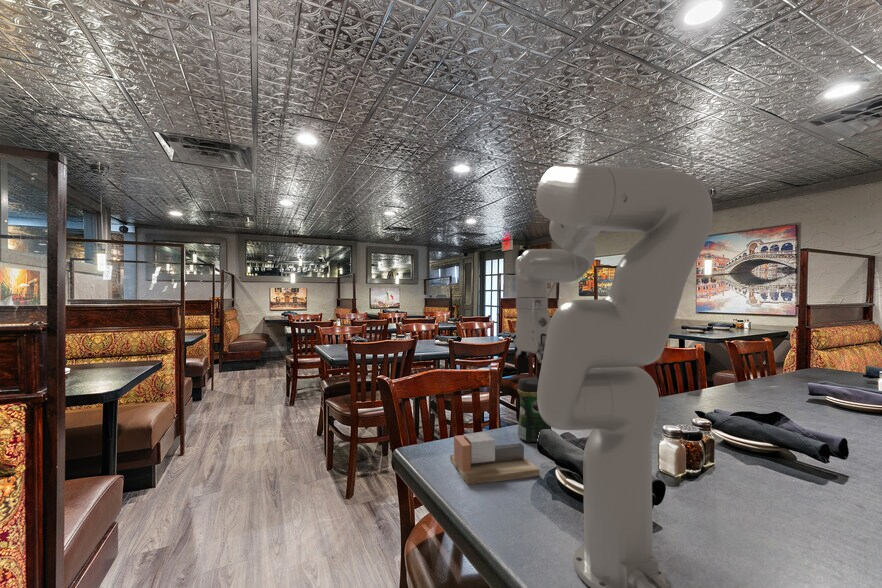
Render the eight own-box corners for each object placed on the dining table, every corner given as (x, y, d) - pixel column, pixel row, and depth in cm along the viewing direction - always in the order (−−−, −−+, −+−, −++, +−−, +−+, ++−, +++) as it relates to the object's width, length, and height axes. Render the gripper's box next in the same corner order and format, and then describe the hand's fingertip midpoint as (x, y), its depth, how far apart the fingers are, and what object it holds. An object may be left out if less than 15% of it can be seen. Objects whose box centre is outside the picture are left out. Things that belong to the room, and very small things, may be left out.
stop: (470, 470, 91) (470, 445, 91) (462, 471, 91) (462, 445, 91) (461, 459, 98) (461, 435, 98) (454, 460, 97) (454, 436, 98)
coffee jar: (543, 433, 122) (542, 374, 122) (555, 442, 114) (555, 379, 114) (514, 435, 120) (513, 375, 120) (525, 444, 112) (524, 380, 112)
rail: (523, 460, 97) (523, 446, 97) (467, 466, 94) (467, 451, 94) (520, 457, 99) (520, 443, 99) (464, 463, 96) (464, 448, 96)
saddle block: (495, 460, 93) (494, 440, 93) (471, 463, 92) (471, 442, 92) (486, 451, 99) (485, 432, 99) (463, 454, 97) (463, 434, 98)
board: (539, 475, 92) (539, 469, 92) (467, 484, 87) (467, 478, 87) (513, 453, 105) (513, 448, 105) (450, 460, 101) (450, 454, 101)
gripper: (566, 304, 87) (567, 381, 86) (527, 306, 103) (528, 370, 103) (536, 304, 85) (538, 383, 84) (502, 306, 101) (502, 372, 100)
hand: (532, 376), depth 93 cm, fingers open, 9 cm apart
